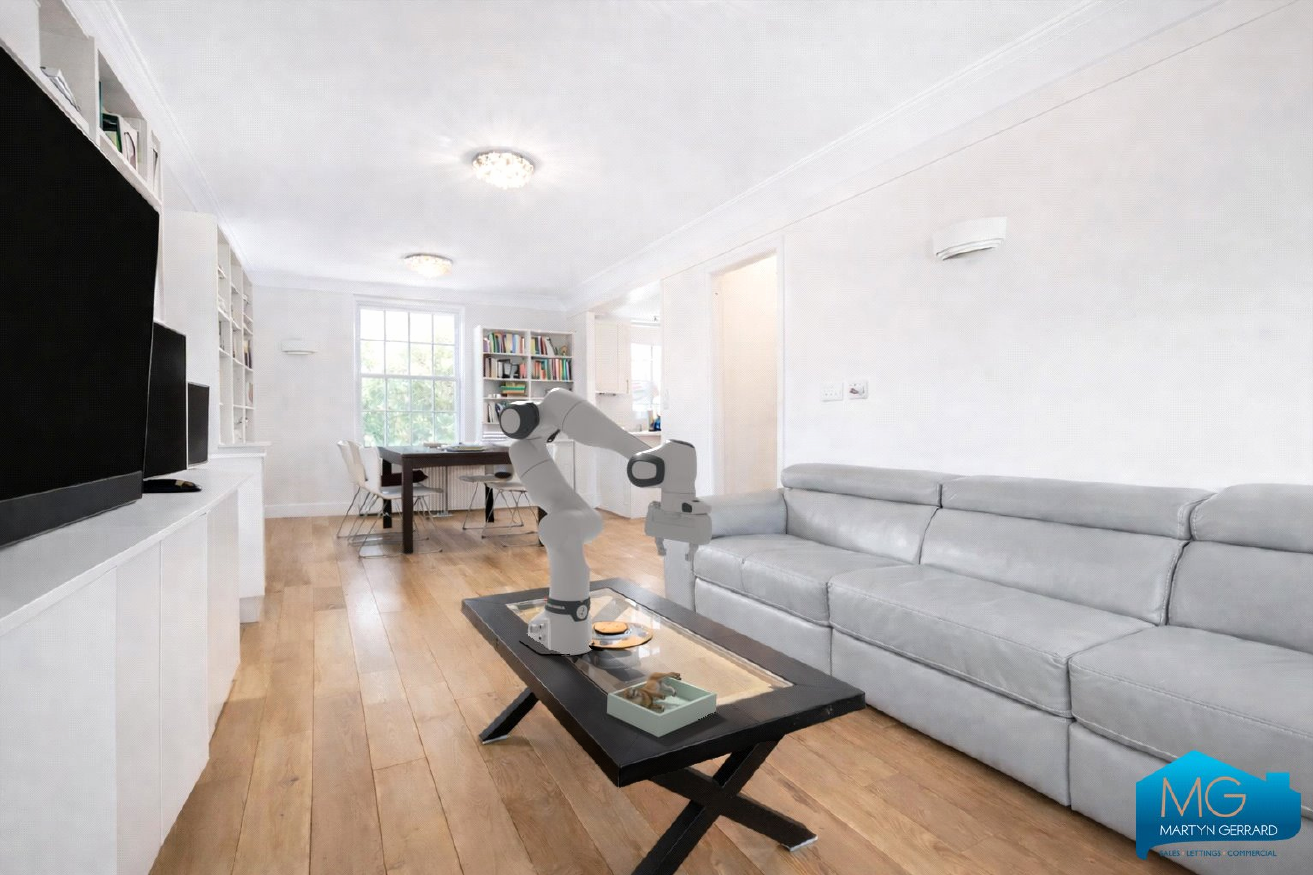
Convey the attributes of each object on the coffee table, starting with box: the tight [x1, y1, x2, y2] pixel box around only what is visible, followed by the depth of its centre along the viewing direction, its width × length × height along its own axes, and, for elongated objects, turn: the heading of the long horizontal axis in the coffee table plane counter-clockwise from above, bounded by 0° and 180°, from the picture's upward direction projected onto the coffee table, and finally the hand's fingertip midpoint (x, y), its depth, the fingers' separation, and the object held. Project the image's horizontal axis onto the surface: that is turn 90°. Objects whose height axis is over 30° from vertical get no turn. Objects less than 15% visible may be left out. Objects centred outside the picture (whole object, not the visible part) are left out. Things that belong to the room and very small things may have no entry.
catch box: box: [606, 677, 718, 738], centre depth 135 cm, size 15×18×4 cm
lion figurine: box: [621, 671, 682, 713], centre depth 137 cm, size 15×5×9 cm
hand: (675, 558), depth 160 cm, fingers open, 8 cm apart
